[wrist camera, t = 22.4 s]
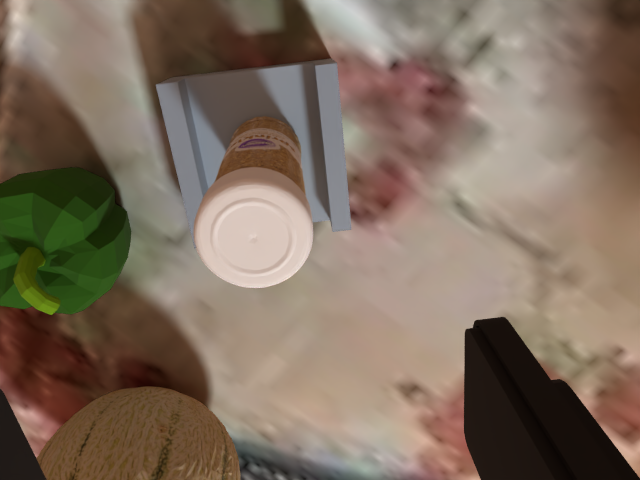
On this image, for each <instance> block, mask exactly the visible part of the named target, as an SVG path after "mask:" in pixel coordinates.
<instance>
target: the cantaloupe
mask: <svg viewBox="0 0 640 480" xmlns="http://www.w3.org/2000/svg"><path fill="white" fill-rule="evenodd" d="M37 461H38V463H39V465H40V467H41V469H42V471H43V473H44V475H45V477H46V479H47V480H240V469H239V460H238V456H237V452H236V450H235V446H234V443H233V442H232V439H231V438H230V436H229V434H228V432H227V431H226V428H225V426H224V425H223V424H222V423H221V422H220V421H219V419H218V418H217V417H216V416H215V415H214V414H213V412H211V411H210V410H209V409H208V408H207V407H206V406H205V405H204V404H202V403H201V402H199V401H198V400H196V399H194V398H192V397H190V396H187V395H184V394H181V393H179V392H177V391H175V390H172V389H167V388H162V387H150V386H145V387H137V388H125V389H120V390H116V391H113V392H110V393H108V394H106V395H103V396H101V397H99V398H97V399H95V400H94V401H92V402H91V403H89V404H88V405H86V406H85V407H83V408H82V409H81V410H80V411H78V412H77V413H75V414H74V415H73V416H72V417H71V418H70V419H69V420H68V421H67V422H65V423H64V424H63V425H62V426H61V427H60V428H59V429H58V430H57V432H56V433H55V434H54V435H53V436H52V437H51V439H50V440H49V441H48V442H47V443H46V445H45V446H44V448H43V449H42V450H41V452H40V454H39V456H38V457H37Z"/></svg>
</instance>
